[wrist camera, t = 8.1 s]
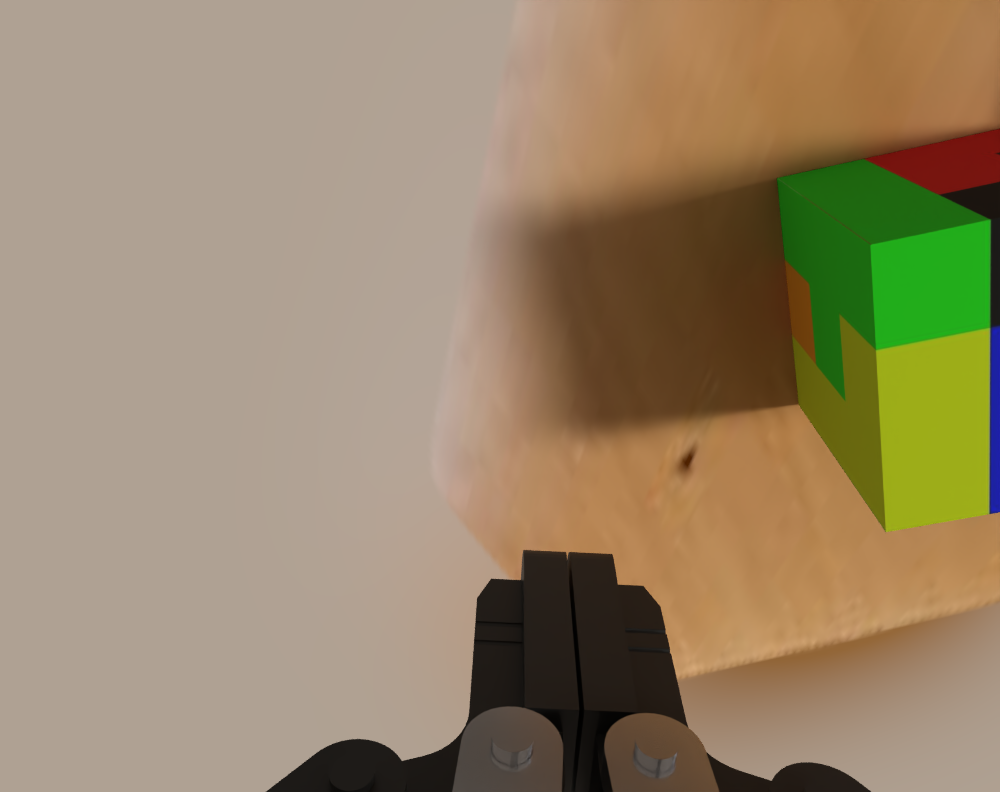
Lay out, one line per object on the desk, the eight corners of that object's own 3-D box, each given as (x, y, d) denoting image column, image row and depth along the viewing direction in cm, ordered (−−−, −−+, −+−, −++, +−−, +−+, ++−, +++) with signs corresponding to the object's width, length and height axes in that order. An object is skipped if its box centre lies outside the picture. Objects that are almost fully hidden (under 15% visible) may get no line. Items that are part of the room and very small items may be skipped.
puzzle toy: (1036, 358, 37) (1204, 476, 28) (798, 403, 38) (885, 531, 29) (1043, 118, 33) (1242, 166, 24) (776, 177, 34) (870, 244, 25)
